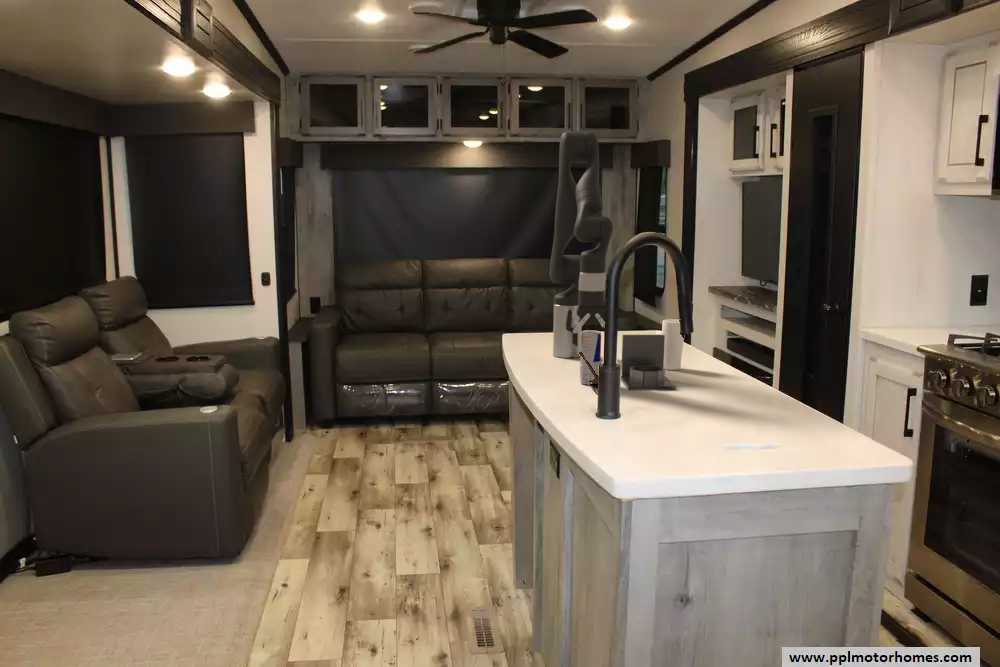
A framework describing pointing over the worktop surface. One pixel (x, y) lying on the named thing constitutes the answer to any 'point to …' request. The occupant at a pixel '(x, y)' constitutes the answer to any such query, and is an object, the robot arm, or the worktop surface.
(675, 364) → the white tapered cylinder
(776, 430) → the worktop surface
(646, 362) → the cup bracket
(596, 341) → the beverage can
